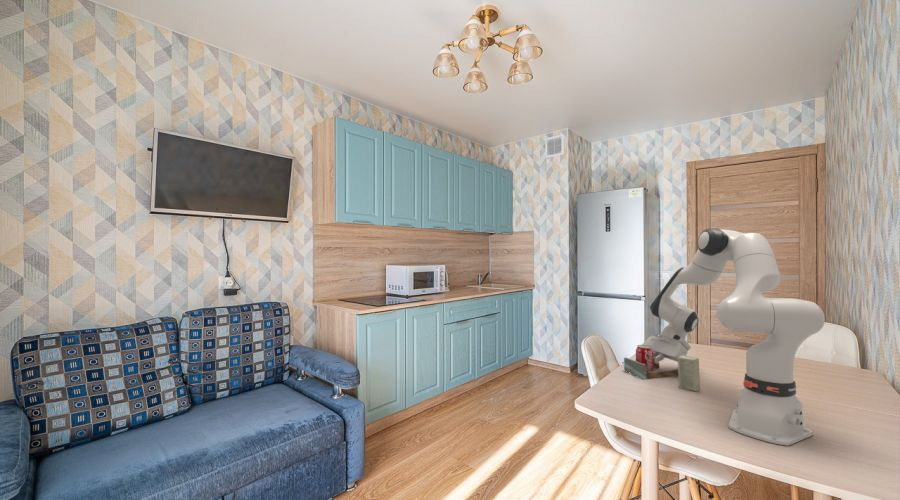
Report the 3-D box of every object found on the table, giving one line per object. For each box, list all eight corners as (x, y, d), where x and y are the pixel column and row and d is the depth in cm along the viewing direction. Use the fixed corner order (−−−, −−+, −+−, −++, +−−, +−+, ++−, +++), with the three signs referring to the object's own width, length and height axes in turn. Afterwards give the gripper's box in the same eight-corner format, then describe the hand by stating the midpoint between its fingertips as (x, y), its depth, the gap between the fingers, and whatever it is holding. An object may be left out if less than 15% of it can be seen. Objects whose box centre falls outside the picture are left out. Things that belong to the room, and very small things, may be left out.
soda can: (656, 373, 163) (655, 346, 163) (651, 376, 158) (650, 349, 158) (639, 369, 168) (638, 343, 168) (633, 373, 163) (633, 346, 163)
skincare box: (700, 389, 143) (699, 358, 143) (695, 391, 140) (695, 360, 140) (682, 384, 148) (682, 354, 148) (677, 387, 145) (677, 356, 146)
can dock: (657, 367, 171) (657, 354, 171) (679, 375, 159) (679, 361, 159) (624, 370, 166) (624, 357, 167) (644, 379, 155) (643, 365, 155)
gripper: (649, 329, 175) (632, 351, 173) (685, 338, 155) (667, 363, 153) (657, 338, 176) (640, 360, 174) (694, 348, 156) (676, 373, 154)
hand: (653, 362), depth 163 cm, fingers closed
